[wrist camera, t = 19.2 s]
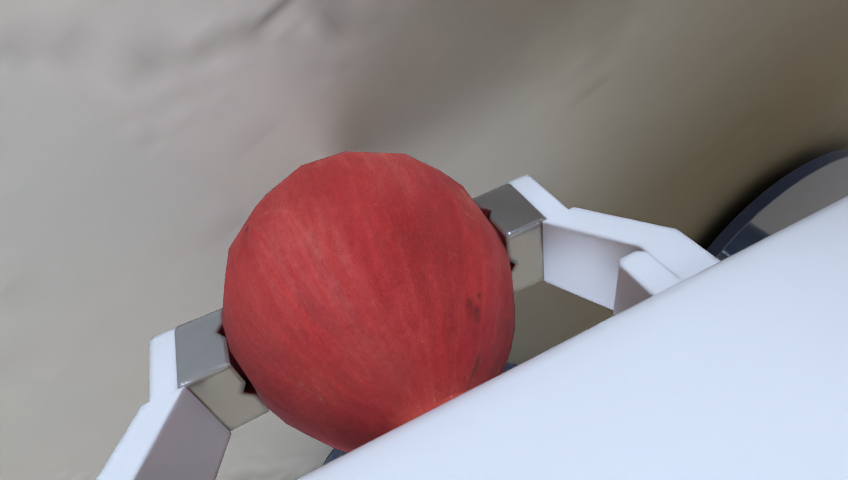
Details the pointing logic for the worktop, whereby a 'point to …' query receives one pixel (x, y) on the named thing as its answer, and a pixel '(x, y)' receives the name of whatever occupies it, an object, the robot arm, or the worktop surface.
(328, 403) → the onion
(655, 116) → the worktop surface
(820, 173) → the lid
